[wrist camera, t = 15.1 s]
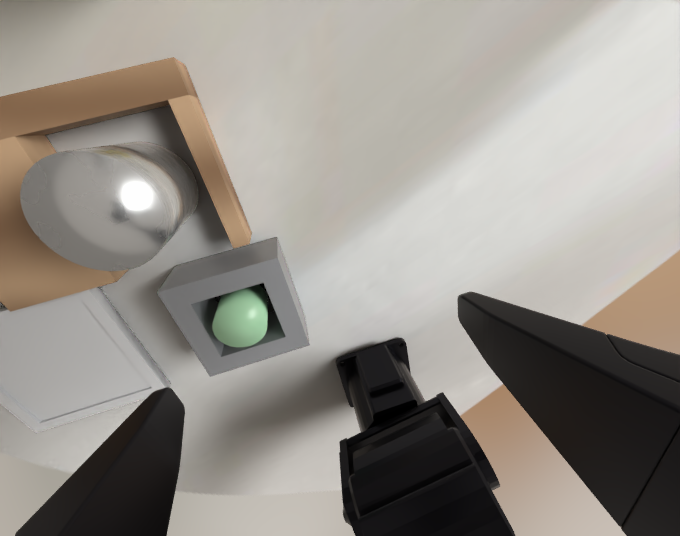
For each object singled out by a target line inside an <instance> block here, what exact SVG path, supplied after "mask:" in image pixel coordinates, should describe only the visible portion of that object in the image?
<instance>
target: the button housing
mask: <svg viewBox="0 0 680 536" xmlns="http://www.w3.org/2000/svg"><path fill="white" fill-rule="evenodd" d="M261 283H264V285H265V288H266V290H267V292H268V295H269V297H270V300H271V302H272V305H273V307H274V309H275V311H272V312H269V313H268V320H267V331H266V334H265V335H264V337H263V338H262V339H261V340H260V341H259V342H257V343H256V344H254V345H251V346H248V347H232V346H228V345H226V344H224V343H222V342H221V341H219V340H218V339H217V338H216V336H215V335H214V332H213V328H212V324H213V320H214V317H215V314H216V310H217V307H218V304H217V302H216V300H215V298H214V297H217V296H220V295H223V294H227V293H230V292H234V291H237V290H240V289H244V288H247V287H250V286H254V285H257V284H261ZM157 294H158V295H159V297H160V299H161V300H162V302H163V303H164V305H165V306H166V308H167V310H168V311H169V313H170V314H171V316H172V317H173V319H174V321H175V322H176V324H177V325H178V327H179V329H180V330H181V332H182V333H183V335H184V336H185V338H186V340H187V341H188V343H189V344H190V346H191V347H192V349H193V351H194V352H195V354H196V355H197V357H198V358H199V360H200V362H201V363H202V365H203V366H204V368H205V369H206V371H207V373H208V374H209V376H214V375H217V374H220V373H223V372H226V371H229V370H233V369H236V368H239V367H242V366H245V365H248V364H252V363H255V362H258V361H261V360H264V359H267V358H271V357H274V356H277V355H280V354H283V353H286V352H290V351H293V350H296V349H299V348H302V347H305V346H309V345H310V344H309V338H308V332H307V326H306V320H305V315H304V312H303V309H302V306H301V303H300V301H299V298H298V295H297V292H296V289H295V286H294V284H293V281H292V278H291V275H290V272H289V269H288V267H287V264H286V261H285V258H284V255H283V252H282V250H281V247H280V244H279V241H278V238H277V237H275V238H272V239H268V240H265V241H261V242H258V243H254V244H251V245H247V246H244V247H240V248H237V249H233V250H230V251H226V252H223V253H219V254H216V255H212V256H208V257H205V258H201V259H198V260H194V261H191V262H187V263H184V264H180V265H177V266H175V267H174V269H173V270H172V271H171V273H170V274H169V276H168V277H167V279H166V280H165V282H164V283H163V284H162V286H161V287H160V289H159V290H158V292H157Z"/></svg>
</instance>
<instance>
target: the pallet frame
mask: <svg viewBox="0 0 680 536" xmlns="http://www.w3.org/2000/svg"><path fill="white" fill-rule="evenodd" d="M168 105H170V106H171V108H172V110H173V113H174V115H175V117H176V119H177V122H178V124H179V126H180V128H181V131H182V133H183V135H184V138H185V140H186V142H187V144H188V147H189V149H190V151H191V153H192V156H193V158H194V160H195V162H196V165H197V167H198V169H199V172H200V174H201V176H202V178H203V181H204V183H205V185H206V187H207V190H208V192H209V194H210V196H211V199H212V201H213V203H214V206H215V208H216V210H217V212H218V215H219V217H220V219H221V221H222V224H223V226H224V228H225V230H226V233H227V235H228V237H229V240H230V242H231V244H232V246H233V249H234V248H237V247H241V246H244V245H248V244H250V239H251V235H252V232H251V230H250V227H249V225H248V222H247V220H246V217H245V215H244V212H243V210H242V207H241V205H240V202H239V200H238V197H237V194H236V192H235V189H234V187H233V184H232V182H231V179H230V177H229V174H228V172H227V169H226V167H225V164H224V162H223V159H222V157H221V154H220V152H219V149H218V146H217V144H216V141H215V139H214V136H213V134H212V131H211V129H210V126H209V124H208V121H207V119H206V116H205V114H204V111H203V109H202V106H201V104H200V101H199V99H198V96H197V93H196V91H195V88H194V86H193V83H192V81H191V78H190V76H189V73H188V71H187V68H186V66H185V65H184V64H183V63H181V62H180V61H178V60H177V59H175V58H174V57H173V58H168V59H164V60H160V61H155V62H151V63H146V64H142V65H138V66H133V67H129V68H124V69H120V70H116V71H111V72H107V73H103V74H98V75H94V76H89V77H85V78H81V79H76V80H72V81H68V82H63V83H59V84H54V85H50V86H46V87H41V88H37V89H32V90H28V91H24V92H19V93H15V94H11V95H6V96H2V97H0V302H1V303H2V304H3V305H4V306H5V307H6V308H7V309H8V310H9V311H10V312H11V311H15V310H18V309H22V308H25V307H29V306H33V305H36V304H40V303H43V302H47V301H50V300H54V299H57V298H61V297H64V296H68V295H71V294H75V293H78V292H82V291H85V290H89V289H92V288H96V287H100V286H103V285H107V284H110V283H114V282H117V281H118V280H119V279H120V278H121V277H122V276H123V275H124V274H125V273H126V272H127V271H128V270H129V269H128V270H123V271H102V270H96V269H91V268H87V267H84V266H81V265H78V264H76V263H73V262H71V261H69V260H67V259H65V258H63V257H62V256H60V255H59V254H57V253H56V252H54V251H53V250H52V249H50V248H49V247H48V246H47V245H46V244H44V243H43V242H42V241H41V240H40V239H39V237H38V236H37V235H36V234H35V233H34V231H33V230H32V228H31V227H30V226H29V224H28V222H27V220H26V218H25V215H24V213H23V210H22V206H21V200H20V191H21V185H22V182H23V179H24V177H25V175H26V173H27V172H28V170H29V169H30V168H31V167H32V166H33V165H34V164H35V163H36V162H38V161H39V160H40V159H42V158H44V157H46V156H49V155H52V154H55V153H57V152H56V151H55V149H54V148H53V146H52V145H51V143H50V142H49V140H48V139H47V137H46V136H45V135H47V134H51V133H56V132H60V131H64V130H68V129H72V128H76V127H81V126H85V125H89V124H93V123H97V122H101V121H105V120H110V119H114V118H118V117H122V116H126V115H130V114H135V113H139V112H143V111H147V110H151V109H155V108H159V107H164V106H168Z"/></svg>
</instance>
